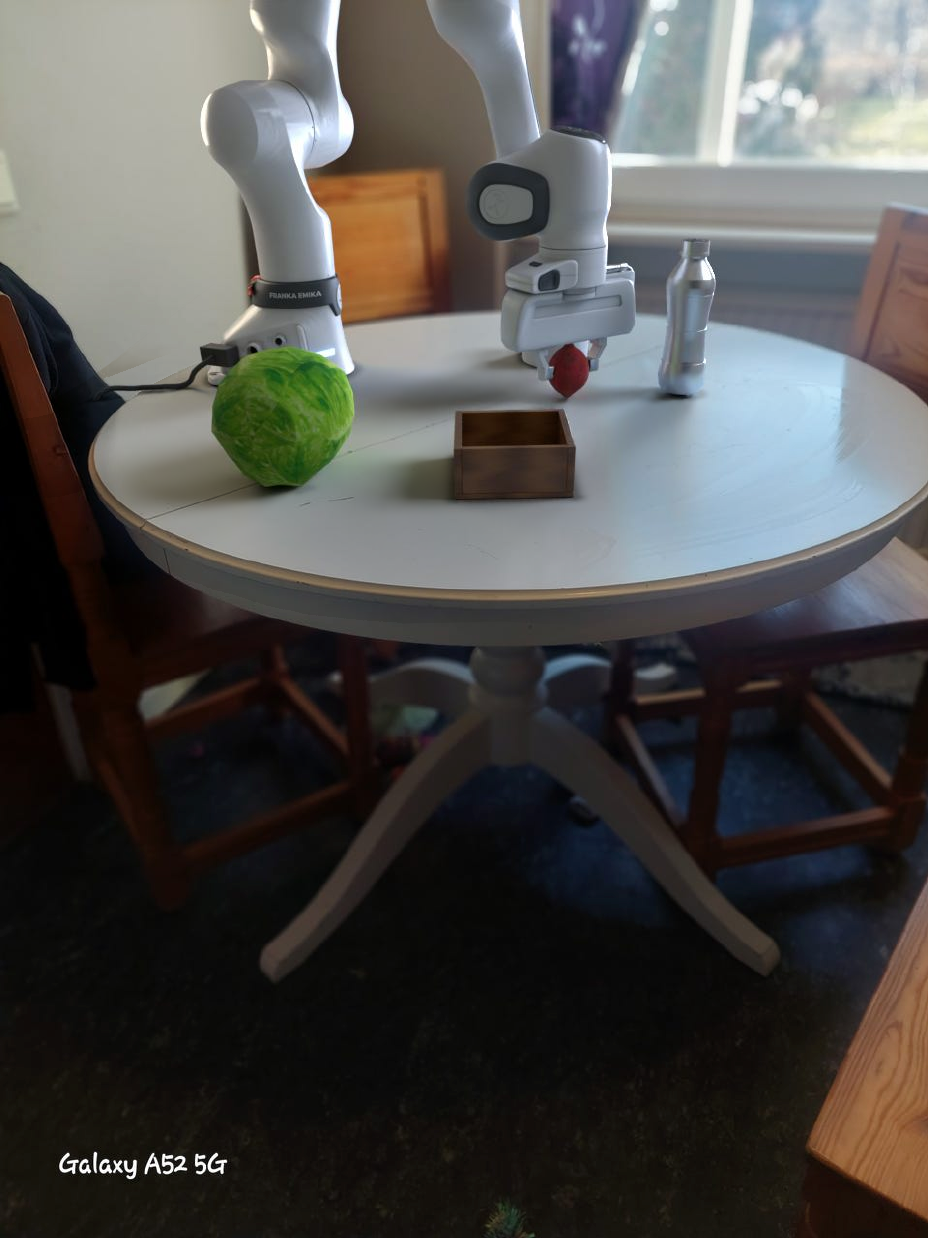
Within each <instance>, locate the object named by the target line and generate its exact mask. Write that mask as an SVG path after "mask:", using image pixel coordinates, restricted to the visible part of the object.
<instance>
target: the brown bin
mask: <svg viewBox="0 0 928 1238" xmlns="http://www.w3.org/2000/svg"><path fill="white" fill-rule="evenodd" d="M453 432H454V433H453V476H454V477H453V478H454V499H455V500H488V499H492V500H494V499H543V498H544V499H545V498H546V499H547V498H549V499H550V498H553V499H554V498H574V496H575V477H576V476H575V475H576V457H577V456H576V455H577V454H576V453H577V446H576V443H575V439H574V436H573V432H572V430H571V426H570V422H569V420H568V416H567V414H566V410H565V408H543V409H541V408H540V409H539V408H538V409H494V410H490V409H488V410H455V412H454V431H453Z"/></svg>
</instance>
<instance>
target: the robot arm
mask: <svg viewBox="0 0 928 1238" xmlns="http://www.w3.org/2000/svg"><path fill="white" fill-rule="evenodd" d="M341 1H342V0H249V8H248V9H249V19H250V21H251V25H252V26H253V27H254V29H255V31H256V32H257V34H259V36H260V37H261V38H262V41H263V43H264V47H265V52H266V58H267V68H268V71H267V72H268V75H267V79H254V80H253V79H243V80H238V81H235V82H232V83H229V84H226V85H225V86H221V87H220V88H218V89H215V90H213V91H212V92H211V93H210V94H209V95H208V96H207V97H206V99H205V100H204V102H203V105H202V109H201V112H200V113H201V114H200V130H201V136H202V139H203V143H204V145H205V147H206V150H207V152H208V153H209V155H210V157H211V158H212V159H213V161H215V163H216V164H217V165H219V166H220V167H221V168H222V169H223V170H224V171H225V172H226V173H227V174H228V175H229V177H230V178H231V179H232V181H233V182H234V184H235V186H236V188H237V190H238V191H239V194H240V196H241V198H242V200H243V202H244V205H245V207H246V210H247V213H248V216H249V219H250V223H251V226H252V231H253V237H254V243H255V249H256V255H257V262H258V269H259V275H255V276H254V277H253V278H251V280H250V282H249V284H248V285H247V286H248V287H247V291H248V292H247V296H248V297H249V301H250V303H252V304H250V306H249V307H248V308H246V310H245V311H244V312H242V313H241V314H240V315H239V316H238V317H237V318H236V320H235V321H233V322H232V323H231V324H230V326H229V327H227V328H226V330H225V331H224V332H223V334H222V336H221V339H220V343H215V342H209V343H207V344H203V345H201V346H199V352H200V357H201V362H199V363H198V364H197V365H196V366H195V367H194V368H193V369H192V370H191V372H190V374H189V377H188V379H186V380H185V381H181V382H178V383H177V382H176V383H155V384H137V385H135V384H134V385H120V384H117V385H116V384H115V385H107V386H105V387H103V388H102V389H103V391H104V392H99V391H97V392H96V393H95V395H94V396H93V397H92V401H100V400H101V399H102V397H103V396H105V395H106V394H108V393H112V392H141V391H160V390H161V391H162V390H180V389H185V388H187V387H189V386H191V385H192V384H193V383H194V381H195V380H196V376H197V375H198V373H199V372H200V371H202V369H204V368H205V367H207V366H210V367H209V369H208V371H207V382H208V383H209V384H211V385H213V386H219V383H220V382H221V381H222V380H223V378H224V377H225V376H226V375H227V374H228V373H229V372H230V370H231V369H232V368H233V367H234V366H235V365H236V364H237V363H238V362H239V361H240V360H241V359H242V358H244V357H245V356H247V355H250V354H254V353H258V352H261V351H263V350H269V349H276V348H283V347H295V348H299V349H303V350H307V351H310V352H314V353H318V354H321V355H323V356H324V357H326V358H327V359H328V360H330V361H331V362H332V363H334V364H335V365H336V366H338V367H339V368H340V369H342V370H343V371H344V372H345V373H346V376H347V375H349V374H351V373H352V372H353V371H354V370H355V364H354V362H353V359H352V357H351V354H350V350H349V346H348V344H347V340H346V336H345V332H344V326H343V322H342V317H341V315H342V314H341V313H342V309H343V302H342V301H343V300H342V290H341V283H340V279H339V274H338V273H337V272H336V267H335V255H334V254H335V253H334V246H333V244H334V243H333V233H332V223H331V220H330V218H329V215H328V213H327V212H326V211H325V210H324V209H323V208H322V207H321V206H319V205H318V203H317V202H316V200H315V199H314V197H313V195H312V192H311V190H310V187H309V184H308V182H307V179H306V174H305V170H311V169H317V168H322V167H324V166H326V165H328V164H330V163H332V162H334V161H336V160H337V159H338V158H340V157H341V156H343V155H344V154H345V153H347V151H348V149H349V147H350V146H351V144H352V140H353V137H354V118H353V113H352V111H351V107H350V105H349V103H348V101H347V100H346V98H345V97H344V95H343V93H342V89H341V84H340V77H339V70H338V69H339V68H338V56H337V55H338V54H337V37H338V24H339V17H340V9H341ZM425 3H426V6H427V9H428V12H429V14H430V17H431V20H432V22H433V25H434V27H435V30H436V32H437V33H438V36H440V37H441V39H442V40H443V41H444V42H445V44H446V43H447V45H448V46H450V47H451V49H453V50H454V51H455V52H456V53H457V54H458V55H459V56H460V57H461V58H462V59H463V60H464V62H465V63H466V64H467V65H468V66H469V68H470V70H471V71H472V72H473V74H474V76H475V77H476V79H477V81H478V84H479V86H480V89H481V92H482V95H483V100H484V104H485V108H486V113H487V118H488V122H489V126H490V131H491V135H492V140H493V144H494V148H495V159H494V160H492V161H490V162H487V163H486V164H485V165H483V166H482V167H480V168H479V169H478V170H477V171H476V172H475V173H474V174H473V175H472V177H471V178H470V180H469V182H468V184H467V188H466V192H465V200H464V201H465V210H466V215H467V217H468V220H469V222H470V224H471V225H472V227H473V228H474V229H475V231H476V232H477V233H478V234H479V235H481V236H482V237H483V238H486V239H487V240H489V241H495V242H501V243H507V242H513V241H516V240H519V239H521V238H522V239H523V238H526V237H531V236H532V237H533V236H534V237H536V238H537V239H538V252H537V253H535V254H534V255H532V256H530V257H529V258H527V259H525V260H523V261H521V262H520V263H518V264H516V265H514V266H512V267H510V268H509V269H507V270H506V272H504V273H505V274H504V283H505V285H506V287H508V288H510V289H508V290H507V292H506V293H505V295H504V297H503V298H502V303H501V310H500V311H501V312H500V327H499V328H500V330H499V333H500V335H499V336H500V342H501V343H502V345H503V346H504V348H506V349H507V350H509V351H512V352H515V353H522V352H525V351H531V356H532V357H533V359H534V361H535V363H536V365H537V366H538V367H537V374H536V375H537V378H538V380H540V381H543V382H544V381H549V380H550V379H553V372H554V367H553V366H549V365H548V364H547V362H546V360H545V357H544V356H547V355H548V347H554V346H560V345H565V344H571V343H577V342H583V341H588V342H589V343H590V344H592V345H591V347H590V349H589V352H588V353H587V357H586V358H587V360H588V364H589V373H591V372H596V371H599V365H600V364H599V363H600V359H601V356H602V355H603V353H604V351H605V350H606V348H607V346H608V338H612V337H617V336H623V335H628V334H630V333H631V332H632V331H633V329H634V328H635V326H636V317H637V315H636V312H637V310H636V309H637V308H636V290H635V282H636V281H635V279H636V274H635V271H634V269H633V268H632V266H630V265H629V264H628V263H626V262H617V263H613V264H611V263H608V250H609V249H608V248H609V240H608V234H607V219H608V216H609V212H610V209H611V200H612V199H611V198H612V197H611V196H612V166H611V165H612V161H611V160H612V159H611V151H610V148H609V144H608V142H607V141H606V139H605V138H604V137H603V136H602V135H601V134H600V133H597V132H596V131H592V130H589V129H585V128H582V127H581V128H580V127H577V126H567V125H555V126H552V127H550V128H548V129H547V130H546V131H545V132H544V133H543V134H542V132H541V125H540V121H539V116H538V112H537V105H536V102H535V96H534V91H533V85H532V81H531V75H530V70H529V67H528V61H527V57H526V51H525V42H524V34H523V27H522V18H521V10H520V0H425Z"/></svg>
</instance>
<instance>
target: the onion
mask: <svg viewBox="0 0 928 1238" xmlns="http://www.w3.org/2000/svg"><path fill="white" fill-rule="evenodd" d="M548 365H549V366H553V367H554V372H553V379H550V380H548V381H549V384H550V386H551V387H552V388H553V389H554V390H555V391H556V392H557V393H558V394H559V395H561V396H563V398H571V397H572V396H573V395H574V394H576V393H577V392H578V391H580V390H581V389H582V388H583V387H584V386H585V385H586V383H587V382H588V379H589V375H590V372H589V364H588V360H587V358H586V356H585V355H584V354H583V352H582V351H581V350H579V349H578V348H577V347H575V346H574V343H571V344H565V345H564V346H563V347H562V348H560V349H559V350H558V351H556V352H555V353H554V355H553V356H552V358H551V359H550V361H549V364H548Z"/></svg>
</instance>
